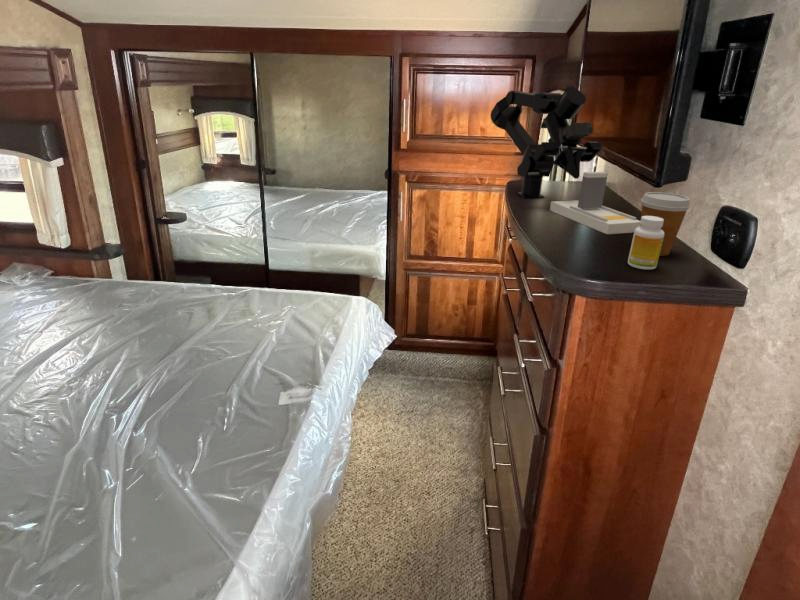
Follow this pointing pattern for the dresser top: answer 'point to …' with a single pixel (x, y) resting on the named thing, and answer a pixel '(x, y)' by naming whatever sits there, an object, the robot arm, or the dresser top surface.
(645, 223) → the supplement bottle
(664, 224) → the disposable coffee cup
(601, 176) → the fader tab
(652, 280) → the dresser top surface
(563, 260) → the dresser top surface
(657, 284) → the dresser top surface
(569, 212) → the white slider track base
